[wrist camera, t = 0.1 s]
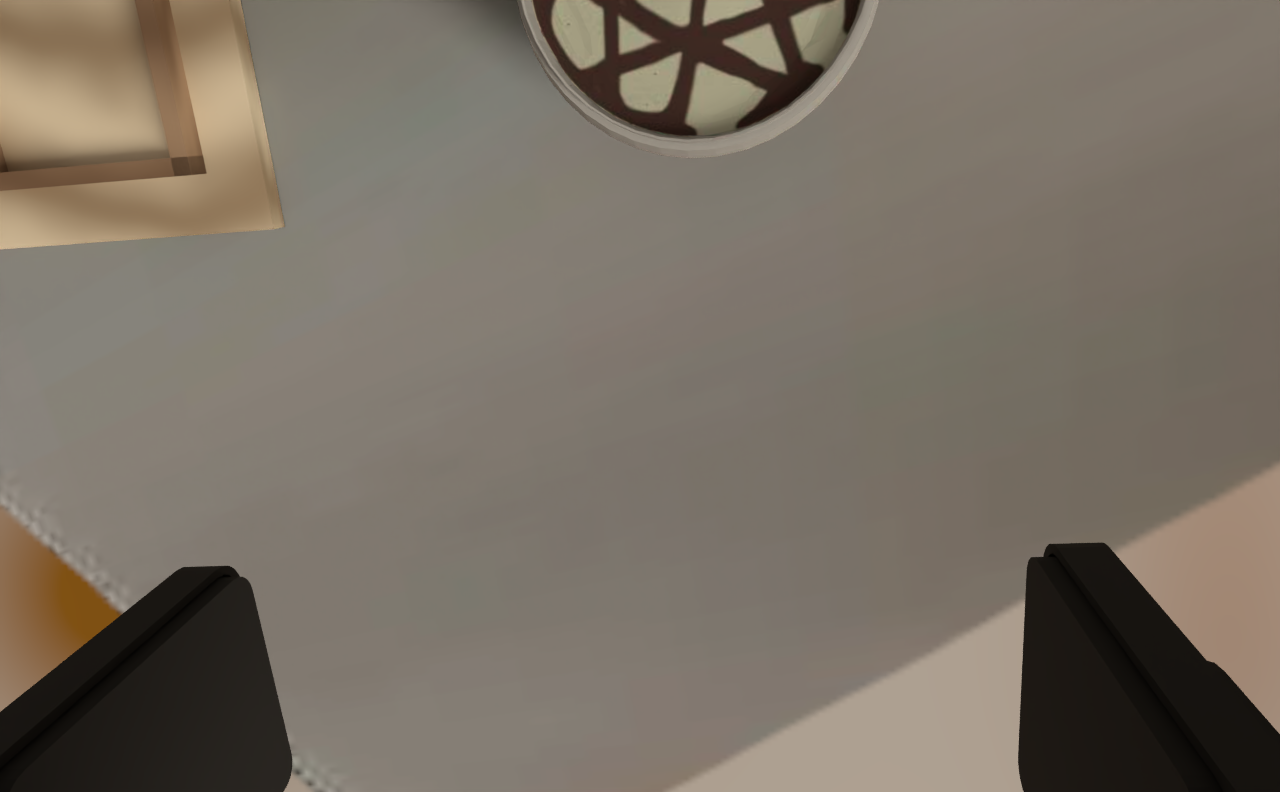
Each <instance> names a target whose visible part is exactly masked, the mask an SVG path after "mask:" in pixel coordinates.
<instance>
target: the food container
mask: <svg viewBox="0 0 1280 792" xmlns="http://www.w3.org/2000/svg"><path fill="white" fill-rule="evenodd" d="M878 2H879V0H517V3H518V7H519V11H520V15H521V19H522V22H523V26H524V28H525V31H526V33H527V36H528V38H529V41H530V43H531V46H532V48H533V51H534V53H535V55H536V57H537V59H538V61H539V62H540V64H541V66H542V68H543V69H544V71H545V73H546V74H547V76H548V78H549V80H550V81H551V82H552V83H553V85H554V86H555V87H556V88H557V90H558V91H559V92H560V93H561V95H562V96H563V97H564V98H565V100H566V101H567V102H568V103H569V104H570V105H571V106H572V107H573V108H574V109H575V110H576V111H578V112H579V113H580V114H581V115H582V116H583V117H584V118H585V119H586V120H587V121H588V122H590V123H591V124H593V125H594V126H596V127H597V128H599V129H600V130H602V131H603V132H605V133H606V134H608V135H609V136H611V137H613V138H615V139H617V140H619V141H622V142H624V143H626V144H628V145H630V146H633V147H635V148H637V149H641V150H645V151H648V152H652V153H656V154H660V155H664V156H674V157H684V158H700V157H715V156H721V155H726V154H730V153H734V152H739V151H743V150H746V149H749V148H751V147H754V146H756V145H759V144H761V143H763V142H766V141H768V140H771V139H773V138H774V137H776V136H778V135H779V134H781V133H783V132H784V131H786V130H788V129H789V128H791V127H793V126H794V125H796V124H797V123H798V122H800V121H801V120H802V119H803V118H804V117H806V116H807V115H808V114H809V113H810V112H812V111H813V110H814V109H815V108H817V107H818V106H819V105H820V104H821V103H822V102H823V100H824V99H825V98H826V97H827V96H828V95H829V94H830V93H831V92H832V90H833V89H834V88H835V87H836V86H837V85H838V84H839V83H840V81H841V80H842V78H843V77H844V75H845V74H846V72H847V71H848V69H849V68H850V66H851V65H852V63H853V62H854V60H855V59H856V57H857V55H858V53H859V51H860V49H861V47H862V45H863V43H864V40H865V38H866V36H867V34H868V32H869V30H870V28H871V25H872V22H873V19H874V15H875V12H876V9H877V6H878Z"/></svg>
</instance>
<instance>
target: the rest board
mask: <svg viewBox="0 0 1280 792" xmlns="http://www.w3.org/2000/svg"><path fill="white" fill-rule="evenodd" d="M281 227H285V225H284V220H283V215H282V210H281V205H280V200H279V194H278V189H277V184H276V179H275V174H274V169H273V164H272V159H271V153H270V148H269V143H268V138H267V133H266V128H265V123H264V118H263V113H262V107H261V102H260V97H259V92H258V87H257V82H256V77H255V72H254V66H253V61H252V56H251V51H250V46H249V41H248V36H247V31H246V26H245V20H244V15H243V10H242V5H241V0H0V249H12V248H25V247H39V246H52V245H66V244H79V243H93V242H106V241H120V240H133V239H147V238H161V237H174V236H188V235H201V234H215V233H228V232H242V231H255V230H269V229H277V228H281Z"/></svg>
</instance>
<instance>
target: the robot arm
mask: <svg viewBox="0 0 1280 792" xmlns="http://www.w3.org/2000/svg"><path fill="white" fill-rule="evenodd" d="M1020 708H1021V709H1020V729H1019V752H1018V765H1019V774H1020V779H1021V784H1022V788H1023V791H1024V792H1280V734H1279V733H1278V732H1277V731H1276V730H1275V728H1274V727H1273V726H1272V725H1271V724H1270V723H1269V722H1268V720H1267V719H1266V718H1265V717H1264V716H1263V715H1262V714H1261V712H1260V711H1259V710H1258V709H1257V708H1256V707H1255V706H1254V704H1253V703H1252V702H1251V701H1250V700H1249V699H1248V698H1247V696H1246V695H1245V694H1244V693H1243V692H1242V691H1241V690H1240V688H1239V687H1238V686H1237V685H1236V684H1235V683H1234V682H1233V680H1232V679H1231V678H1230V677H1229V676H1228V675H1227V674H1226V672H1225V671H1224V670H1222V669H1221V668H1220V667H1219V666H1218V665H1216V664H1215V663H1213V662H1209V661H1206V659H1205V658H1204V657H1203V656H1202V655H1201V654H1200V652H1199V651H1198V650H1197V649H1196V648H1195V647H1194V645H1193V644H1192V643H1191V642H1190V641H1189V640H1188V638H1187V637H1186V636H1185V635H1184V634H1183V633H1182V631H1181V630H1180V629H1179V628H1178V627H1177V626H1176V624H1175V623H1174V622H1173V621H1172V620H1171V619H1170V617H1169V616H1168V615H1167V614H1166V613H1165V612H1164V610H1163V609H1162V608H1161V607H1160V606H1159V605H1158V603H1157V602H1156V601H1155V600H1154V599H1153V598H1152V597H1151V595H1150V594H1149V593H1148V592H1147V591H1146V590H1145V588H1144V587H1143V586H1142V585H1141V584H1140V582H1139V581H1138V580H1137V579H1136V578H1135V577H1134V576H1133V574H1132V573H1131V572H1130V571H1129V570H1128V569H1127V567H1126V566H1125V565H1124V564H1123V563H1122V562H1121V560H1120V559H1119V558H1118V557H1117V556H1116V555H1115V553H1114V552H1113V551H1112V550H1111V549H1110V548H1109V546H1107V545H1106V544H1105V543H1070V544H1049V545H1048V546H1047V547H1046V549H1045V552H1044V557H1031V558H1030V559H1029V562H1028V565H1027V577H1026V598H1025V621H1024V642H1023V664H1022V686H1021V707H1020ZM291 771H292V754H291V750H290V746H289V741H288V737H287V733H286V729H285V725H284V720H283V716H282V712H281V708H280V704H279V699H278V695H277V691H276V687H275V683H274V678H273V674H272V670H271V666H270V661H269V657H268V653H267V649H266V645H265V640H264V636H263V632H262V628H261V624H260V619H259V615H258V611H257V607H256V603H255V598H254V594H253V590H252V587H251V584H250V583H249V581H248V580H247V579H246V578H244V577H240V576H239V574H238V573H237V572H236V570H235V569H234V568H232V567H230V566H207V567H183V568H181V569H179V570H177V571H176V572H174V573H173V574H172V575H171V576H169V577H168V578H167V579H166V580H164V581H163V582H162V583H161V584H159V585H158V586H157V587H156V588H154V589H153V590H152V591H151V592H149V593H148V594H147V595H146V596H144V597H143V598H142V599H141V600H139V601H138V602H137V603H136V604H134V605H133V606H132V607H131V608H129V609H128V610H127V611H126V612H124V613H123V614H122V615H121V616H119V617H118V618H117V619H116V620H115V621H113V622H112V623H111V624H110V625H108V626H107V627H106V628H104V629H103V630H102V631H101V632H100V633H98V634H97V635H96V636H94V637H93V638H92V639H91V640H89V641H88V642H87V643H86V644H84V645H83V646H82V647H81V648H80V649H79V650H77V651H76V652H75V653H73V654H72V655H71V656H70V657H68V658H67V659H66V660H65V661H63V662H62V663H61V664H60V665H58V666H57V667H56V668H55V669H54V670H52V671H51V672H50V673H48V674H47V675H46V676H45V677H43V678H42V679H41V680H40V681H38V682H37V683H36V684H35V685H33V686H32V687H31V688H30V689H28V690H27V691H26V692H25V693H23V694H22V695H21V696H20V697H18V698H17V699H16V700H15V701H13V702H12V703H11V704H10V705H9V706H7V707H6V708H5V709H3V710H2V711H1V712H0V792H283V791H284V790H285V788H286V786H287V784H288V782H289V779H290V776H291Z"/></svg>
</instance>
